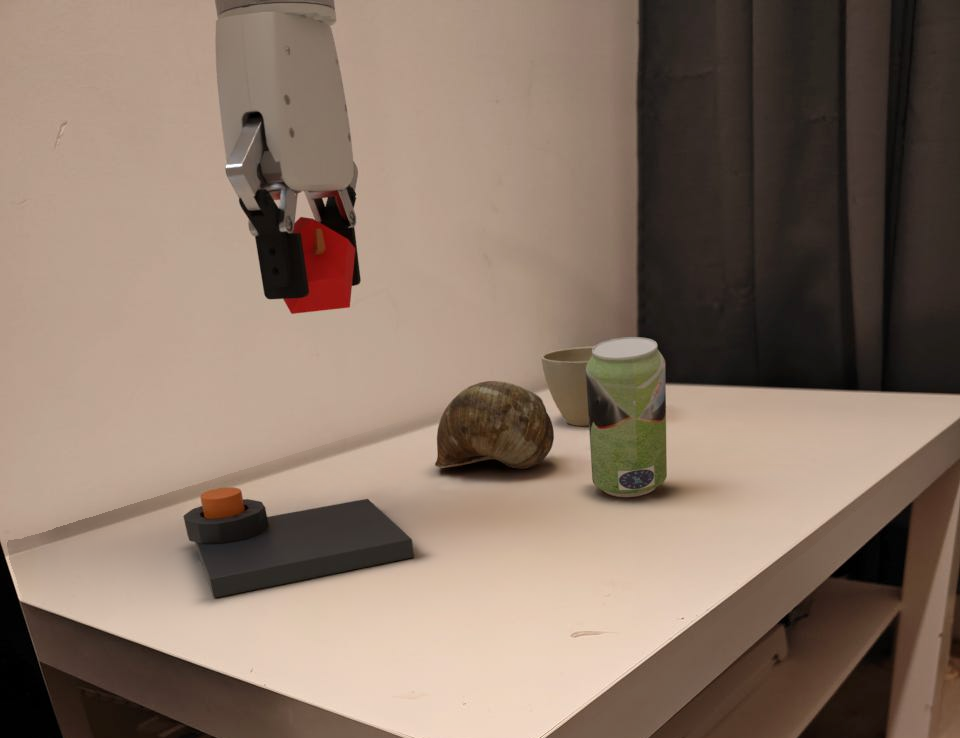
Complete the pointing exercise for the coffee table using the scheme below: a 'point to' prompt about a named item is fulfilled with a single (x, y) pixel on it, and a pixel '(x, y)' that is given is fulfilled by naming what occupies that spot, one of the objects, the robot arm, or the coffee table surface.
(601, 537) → the coffee table surface
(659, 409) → the beverage can
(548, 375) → the flower pot
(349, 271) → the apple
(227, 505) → the button
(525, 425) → the seashell
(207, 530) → the dark grey flat slab
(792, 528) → the coffee table surface
